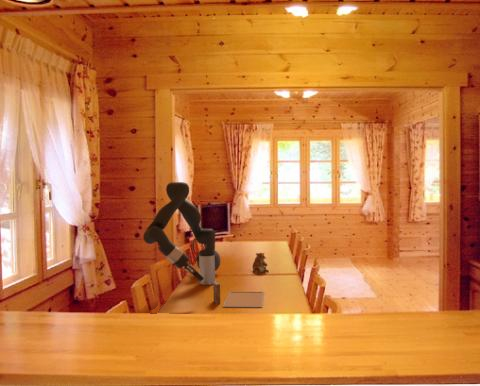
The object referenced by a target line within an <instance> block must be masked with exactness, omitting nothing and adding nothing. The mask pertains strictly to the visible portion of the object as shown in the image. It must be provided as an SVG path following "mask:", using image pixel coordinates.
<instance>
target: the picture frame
mask: <svg viewBox="0 0 480 386" xmlns="http://www.w3.org/2000/svg"><path fill="white" fill-rule="evenodd" d="M264 297H265V291H229V292H228V295H227V297H226V299H225V300H224V303H223V306H222V308H223V309H224V308H226V309H233V308H234V309H235V308H236V309H240V308H241V309H263V306H264V305H263V304H264V299H265V298H264Z"/></svg>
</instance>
